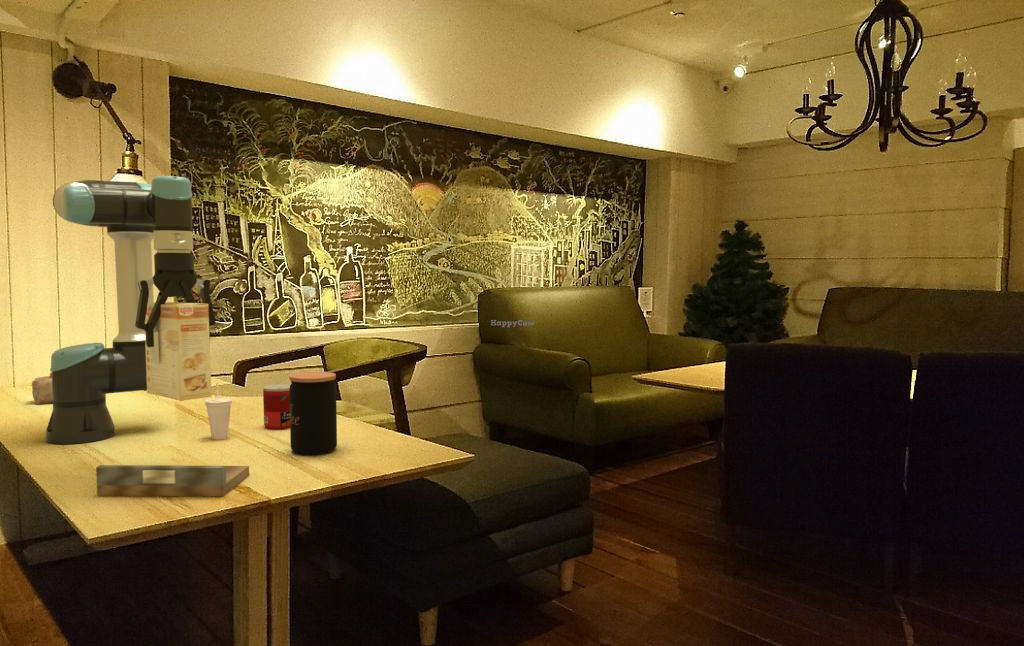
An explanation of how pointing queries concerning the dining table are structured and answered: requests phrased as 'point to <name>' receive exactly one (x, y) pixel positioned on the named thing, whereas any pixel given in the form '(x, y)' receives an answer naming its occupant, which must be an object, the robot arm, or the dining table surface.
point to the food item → (42, 390)
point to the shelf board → (168, 480)
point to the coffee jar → (313, 413)
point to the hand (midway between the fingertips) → (177, 360)
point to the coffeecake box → (180, 352)
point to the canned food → (276, 406)
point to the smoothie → (218, 415)
